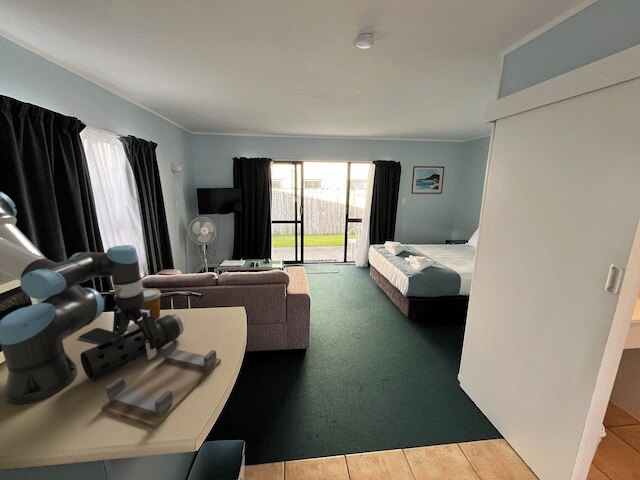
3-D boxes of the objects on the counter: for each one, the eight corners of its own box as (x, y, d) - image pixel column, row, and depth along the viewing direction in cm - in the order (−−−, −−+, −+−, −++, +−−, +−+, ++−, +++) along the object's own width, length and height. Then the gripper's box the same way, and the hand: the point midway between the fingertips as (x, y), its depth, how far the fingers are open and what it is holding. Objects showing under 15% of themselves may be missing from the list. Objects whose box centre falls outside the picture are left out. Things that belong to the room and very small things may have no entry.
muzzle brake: (84, 376, 86) (77, 347, 83) (172, 333, 109) (168, 309, 106) (97, 389, 81) (90, 357, 78) (186, 341, 104) (183, 316, 101)
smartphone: (105, 345, 101) (76, 337, 105) (105, 348, 101) (77, 339, 105) (124, 334, 107) (97, 327, 112) (125, 337, 108) (97, 329, 112)
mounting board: (101, 410, 73) (97, 393, 72) (177, 352, 97) (175, 338, 96) (155, 428, 68) (152, 409, 67) (221, 361, 92) (219, 347, 91)
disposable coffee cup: (157, 310, 127) (154, 286, 124) (168, 316, 122) (164, 291, 119) (134, 319, 119) (130, 293, 117) (144, 326, 114) (140, 299, 111)
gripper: (91, 293, 89) (103, 354, 94) (146, 302, 82) (157, 367, 88) (114, 285, 96) (124, 341, 101) (167, 292, 89) (175, 353, 95)
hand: (139, 353), depth 94 cm, fingers closed on muzzle brake, 10 cm apart
